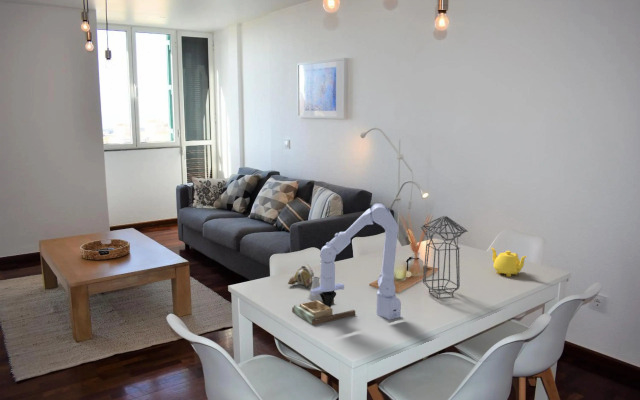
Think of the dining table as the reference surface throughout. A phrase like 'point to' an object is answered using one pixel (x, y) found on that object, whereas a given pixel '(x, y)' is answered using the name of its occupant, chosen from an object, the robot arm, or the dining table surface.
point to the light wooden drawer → (317, 309)
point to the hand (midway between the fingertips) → (327, 309)
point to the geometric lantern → (445, 252)
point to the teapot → (507, 263)
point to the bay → (313, 321)
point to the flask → (314, 285)
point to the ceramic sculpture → (302, 276)
